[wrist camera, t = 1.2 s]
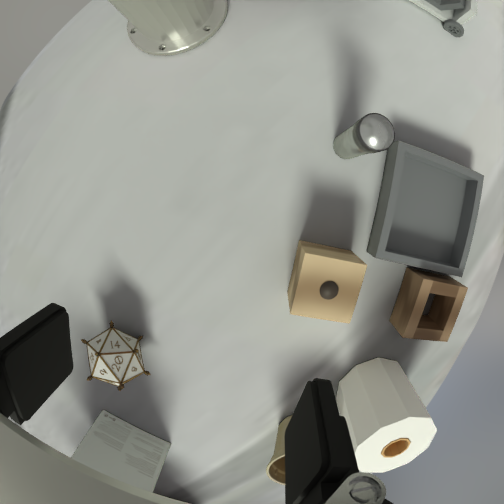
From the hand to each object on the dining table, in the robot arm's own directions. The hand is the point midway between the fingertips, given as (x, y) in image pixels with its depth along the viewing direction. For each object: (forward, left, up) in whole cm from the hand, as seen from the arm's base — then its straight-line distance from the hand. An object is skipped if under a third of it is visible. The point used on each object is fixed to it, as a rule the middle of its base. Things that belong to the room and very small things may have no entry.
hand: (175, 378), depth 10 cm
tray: (-8, +20, -23) cm, 32 cm away
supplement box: (+40, -14, -23) cm, 49 cm away
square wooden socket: (+2, +23, -23) cm, 33 cm away
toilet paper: (+16, +21, -23) cm, 35 cm away
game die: (+16, -13, -23) cm, 31 cm away
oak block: (+1, +9, -23) cm, 25 cm away
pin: (-13, +9, -23) cm, 28 cm away
